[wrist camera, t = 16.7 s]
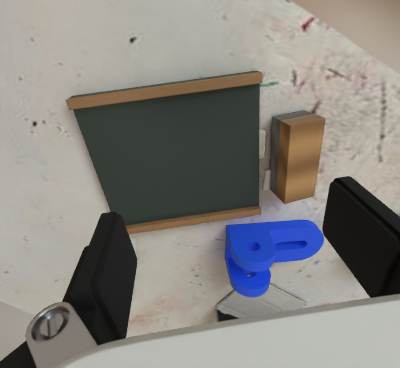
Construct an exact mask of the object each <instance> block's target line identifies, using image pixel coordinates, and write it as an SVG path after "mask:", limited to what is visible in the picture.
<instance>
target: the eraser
mask: <svg viewBox="0 0 400 368" xmlns="http://www.w3.org/2000/svg"><path fill="white" fill-rule="evenodd" d="M324 126H325V118H323V117H320V116H318V115H315V114H313V113H310V112H307V111H305V110H304V111H299V112H293V113H288V114H283V115H278V116H273V119H272V145H271V170H270V190H271V191H272V192H273V193H274V194H275V195H276V196H277V197H278V198H279V199H280V200H281V201H282V202H283V203H284V204H286V203H290V202H293V201H297V200H301V199H305V198H308V197H312V196H314V193H315V186H316V180H317V173H318V166H319V159H320V153H321V146H322V139H323V132H324Z"/></svg>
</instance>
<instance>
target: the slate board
mask: <svg viewBox="0 0 400 368" xmlns="http://www.w3.org/2000/svg"><path fill="white" fill-rule="evenodd" d="M260 83H262V73H261V72H259V71H251V72H244V73H236V74H229V75H222V76H215V77H208V78H200V79H193V80H186V81H179V82H171V83H164V84H157V85H150V86H143V87H135V88H128V89H121V90H114V91H106V92H99V93H92V94H85V95H77V96H72V97H70V98H69V99H67V100H66V102H67V105H68V107H69V110H72V109H73V111H74V114H75V116H76V119H77V122H78V124H79V127H80V130H81V132H82V135H83V138H84V140H85V143H86V146H87V148H88V151H89V154H90V157H91V159H92V162H93V165H94V167H95V170H96V173H97V175H98V178H99V181H100V183H101V186H102V189H103V191H104V194H105V197H106V200H107V202H108V205H109V208H110V210H111V212H116V213H117V214H121V215H122V217H123V220H124V223H125V226H126V229H127V232H128V234H133V233H140V232H147V231H154V230H160V229H167V228H174V227H180V226H187V225H194V224H200V223H207V222H214V221H220V220H227V219H234V218H241V217H247V216H254V215H260V214H261V209H260V207H259V96H260Z"/></svg>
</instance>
